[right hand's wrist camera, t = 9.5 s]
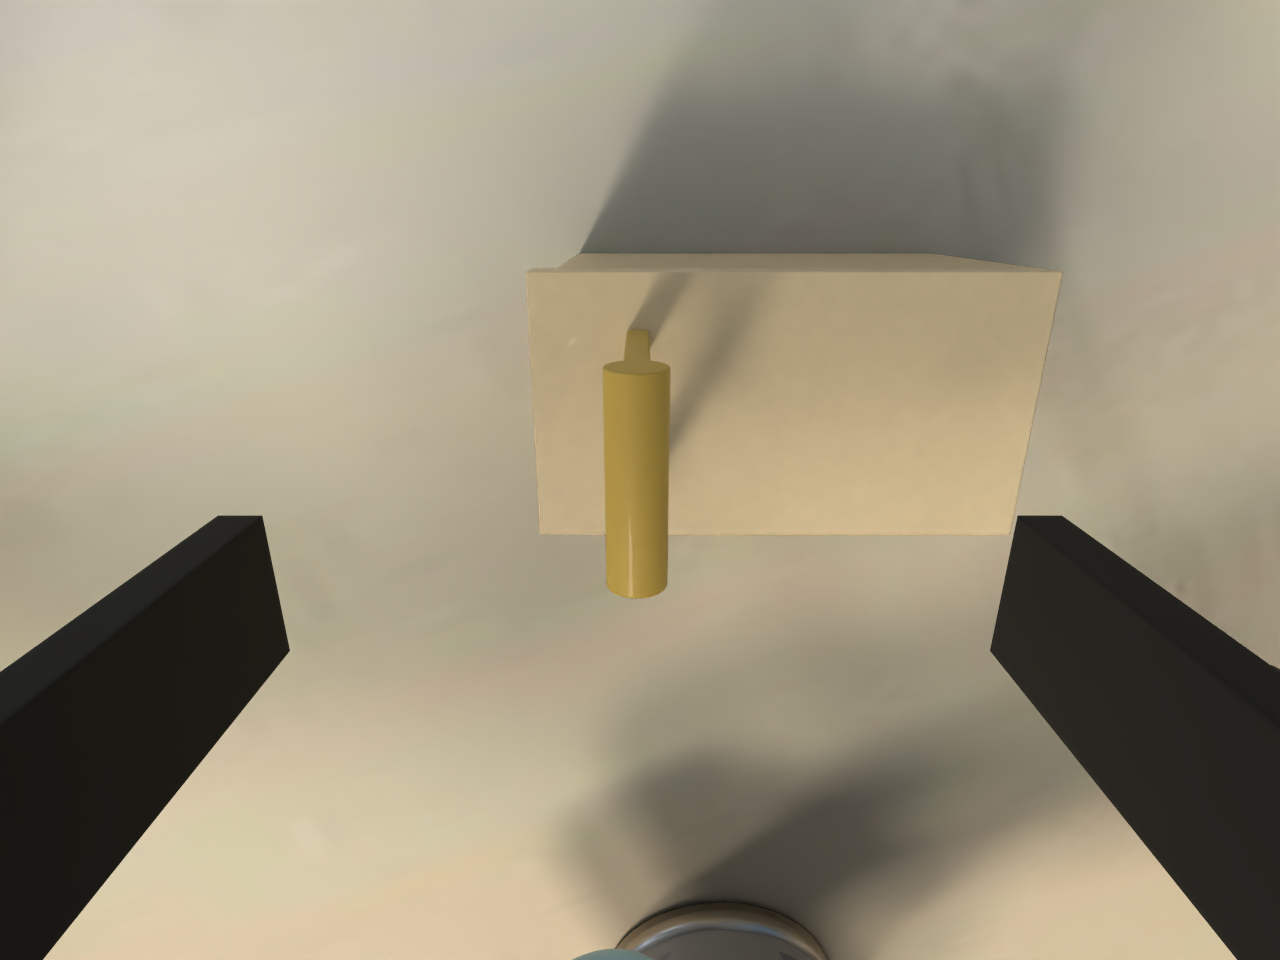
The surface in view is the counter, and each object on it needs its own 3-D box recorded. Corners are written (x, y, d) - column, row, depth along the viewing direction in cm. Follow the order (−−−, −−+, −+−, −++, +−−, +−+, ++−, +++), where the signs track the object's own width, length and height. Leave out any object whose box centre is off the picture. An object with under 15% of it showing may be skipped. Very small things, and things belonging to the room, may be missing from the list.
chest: (584, 443, 35) (564, 520, 26) (578, 253, 32) (554, 268, 23) (905, 443, 35) (993, 520, 26) (931, 253, 32) (1041, 268, 23)
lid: (544, 520, 26) (502, 654, 18) (531, 268, 23) (473, 297, 15) (994, 520, 26) (1148, 655, 18) (1042, 268, 23) (1254, 297, 15)
